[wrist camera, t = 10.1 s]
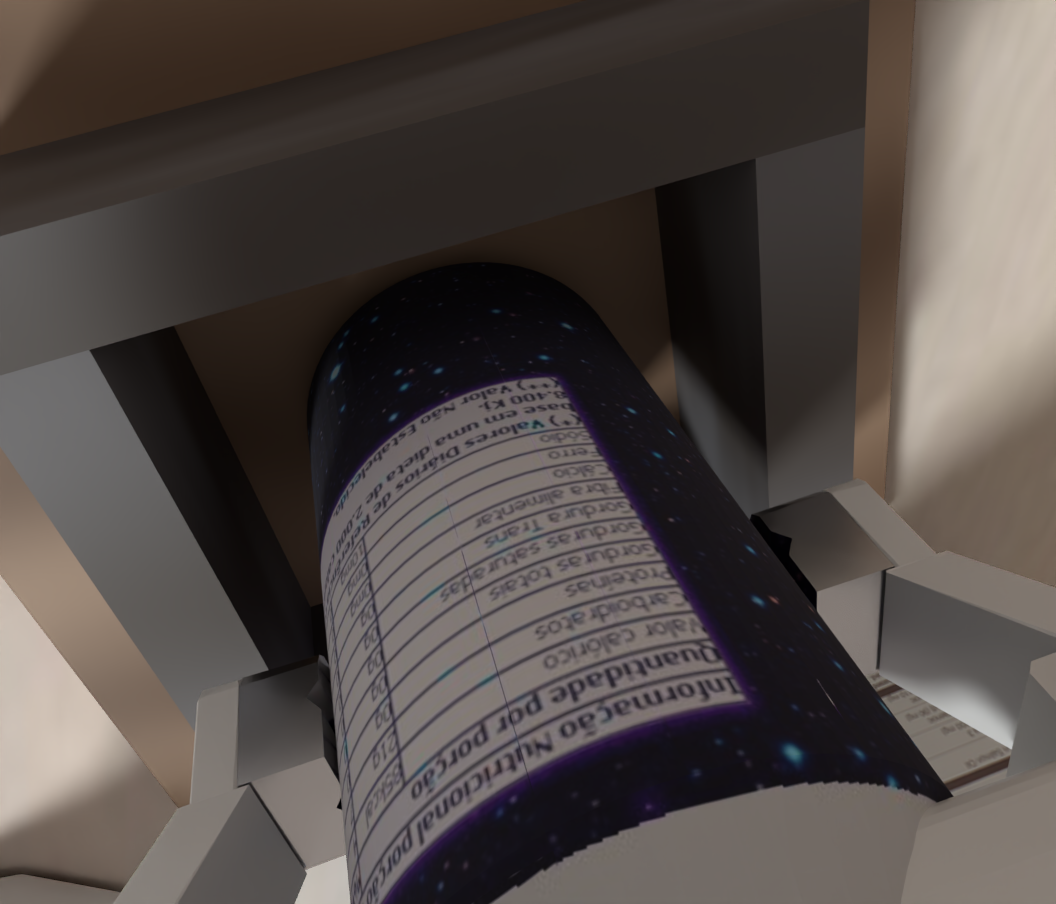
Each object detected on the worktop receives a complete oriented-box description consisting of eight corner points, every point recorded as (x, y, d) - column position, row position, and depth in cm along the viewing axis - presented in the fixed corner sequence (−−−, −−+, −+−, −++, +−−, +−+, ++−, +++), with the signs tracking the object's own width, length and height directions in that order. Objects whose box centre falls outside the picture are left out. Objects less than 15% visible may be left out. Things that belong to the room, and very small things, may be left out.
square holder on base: (-394, -52, 12) (-792, 10, 7) (876, -349, 13) (1189, -449, 9) (184, 757, 22) (166, 983, 18) (847, 537, 24) (983, 693, 19)
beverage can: (326, 531, 18) (413, 1354, 8) (280, 258, 14) (333, 1081, 5) (599, 488, 19) (965, 1162, 9) (613, 227, 16) (1195, 840, 6)
